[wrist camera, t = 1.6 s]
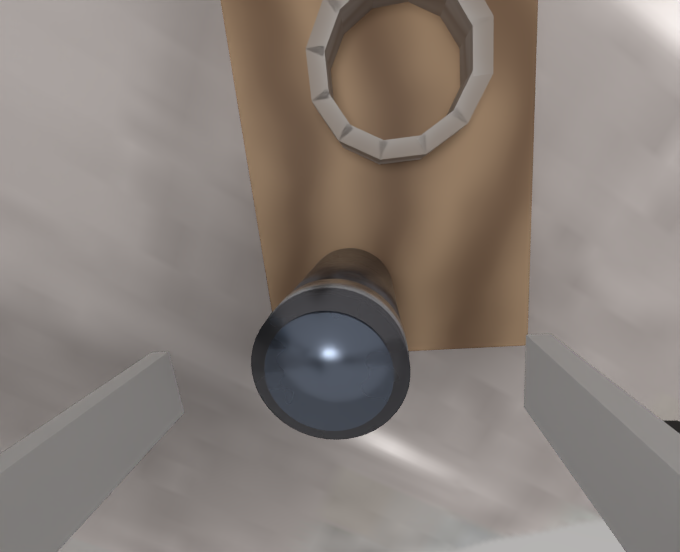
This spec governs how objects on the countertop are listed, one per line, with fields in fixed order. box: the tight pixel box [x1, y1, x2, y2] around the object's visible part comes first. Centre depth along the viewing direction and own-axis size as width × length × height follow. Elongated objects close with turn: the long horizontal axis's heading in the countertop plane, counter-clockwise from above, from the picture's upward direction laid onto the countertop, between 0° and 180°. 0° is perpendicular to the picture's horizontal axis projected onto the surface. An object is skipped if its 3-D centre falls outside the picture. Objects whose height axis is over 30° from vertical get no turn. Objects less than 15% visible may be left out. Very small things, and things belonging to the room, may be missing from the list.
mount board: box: [221, 0, 538, 351], centre depth 20 cm, size 18×24×4 cm
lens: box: [251, 248, 410, 439], centre depth 17 cm, size 6×6×11 cm
